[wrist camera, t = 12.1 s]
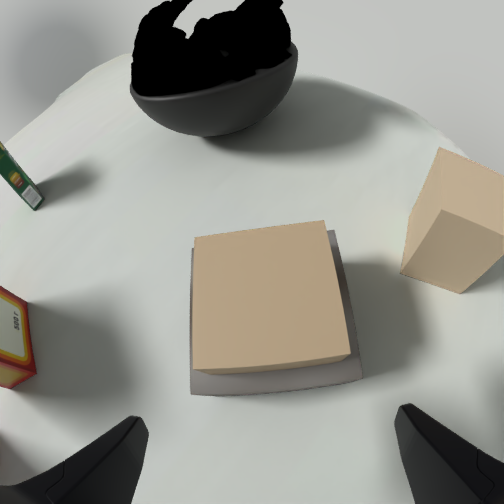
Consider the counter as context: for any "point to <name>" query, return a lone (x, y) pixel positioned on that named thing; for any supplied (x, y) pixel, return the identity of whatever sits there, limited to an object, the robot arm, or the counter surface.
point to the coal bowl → (213, 67)
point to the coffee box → (19, 179)
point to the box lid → (266, 301)
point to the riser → (285, 378)
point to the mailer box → (455, 224)
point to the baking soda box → (14, 341)
